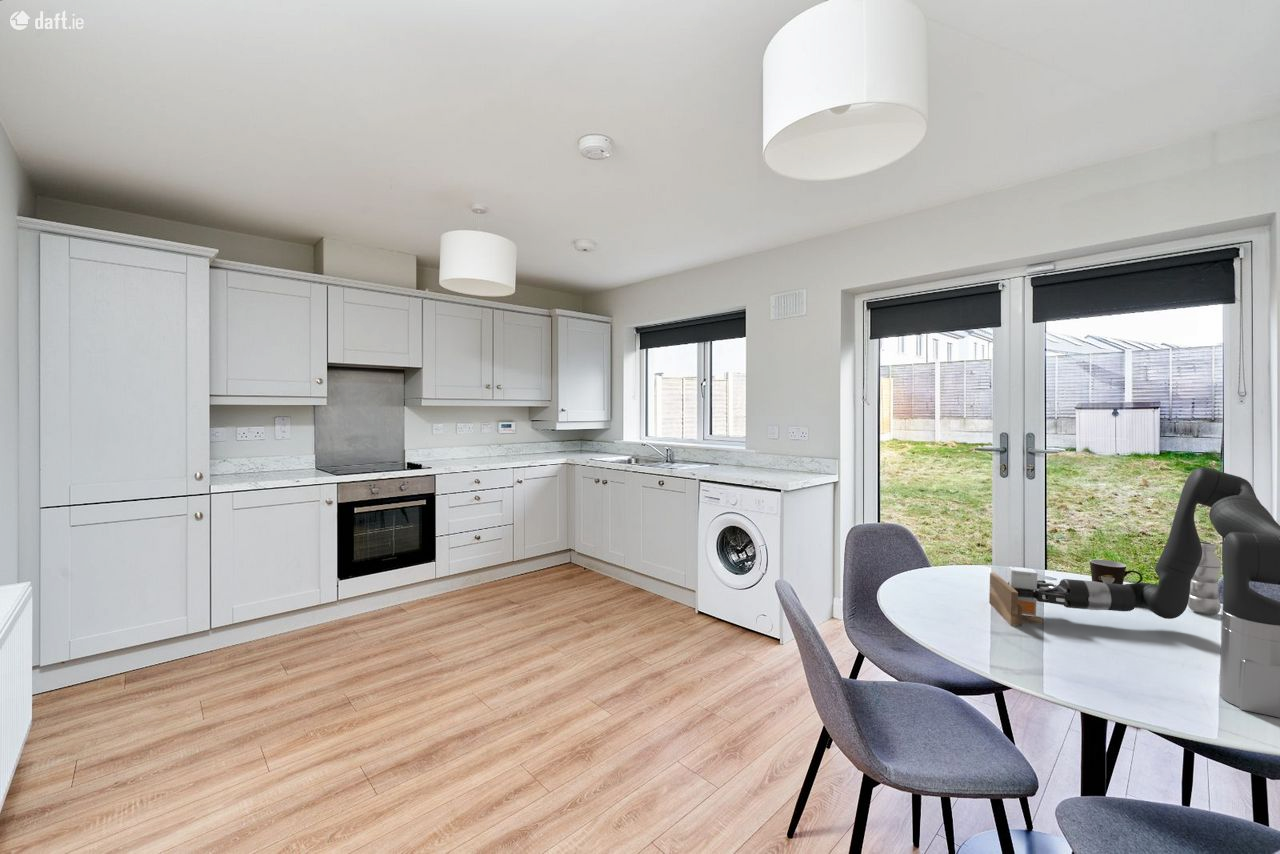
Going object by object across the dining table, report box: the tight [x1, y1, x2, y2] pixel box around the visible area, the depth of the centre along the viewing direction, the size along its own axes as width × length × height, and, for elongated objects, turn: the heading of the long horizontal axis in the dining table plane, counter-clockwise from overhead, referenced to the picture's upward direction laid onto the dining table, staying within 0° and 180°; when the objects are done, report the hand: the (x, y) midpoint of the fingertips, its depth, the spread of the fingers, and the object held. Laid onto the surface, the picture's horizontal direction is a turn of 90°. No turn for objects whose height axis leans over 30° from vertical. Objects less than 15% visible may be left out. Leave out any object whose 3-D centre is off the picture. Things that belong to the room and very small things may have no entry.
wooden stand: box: [988, 572, 1043, 627], centre depth 151 cm, size 8×18×9 cm, turn 163°
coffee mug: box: [1089, 558, 1144, 585], centre depth 167 cm, size 12×9×10 cm
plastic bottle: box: [1187, 541, 1223, 616], centre depth 153 cm, size 6×7×20 cm
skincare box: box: [1008, 566, 1038, 616], centre depth 151 cm, size 6×4×12 cm
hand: (1011, 588), depth 152 cm, fingers closed on skincare box, 5 cm apart
